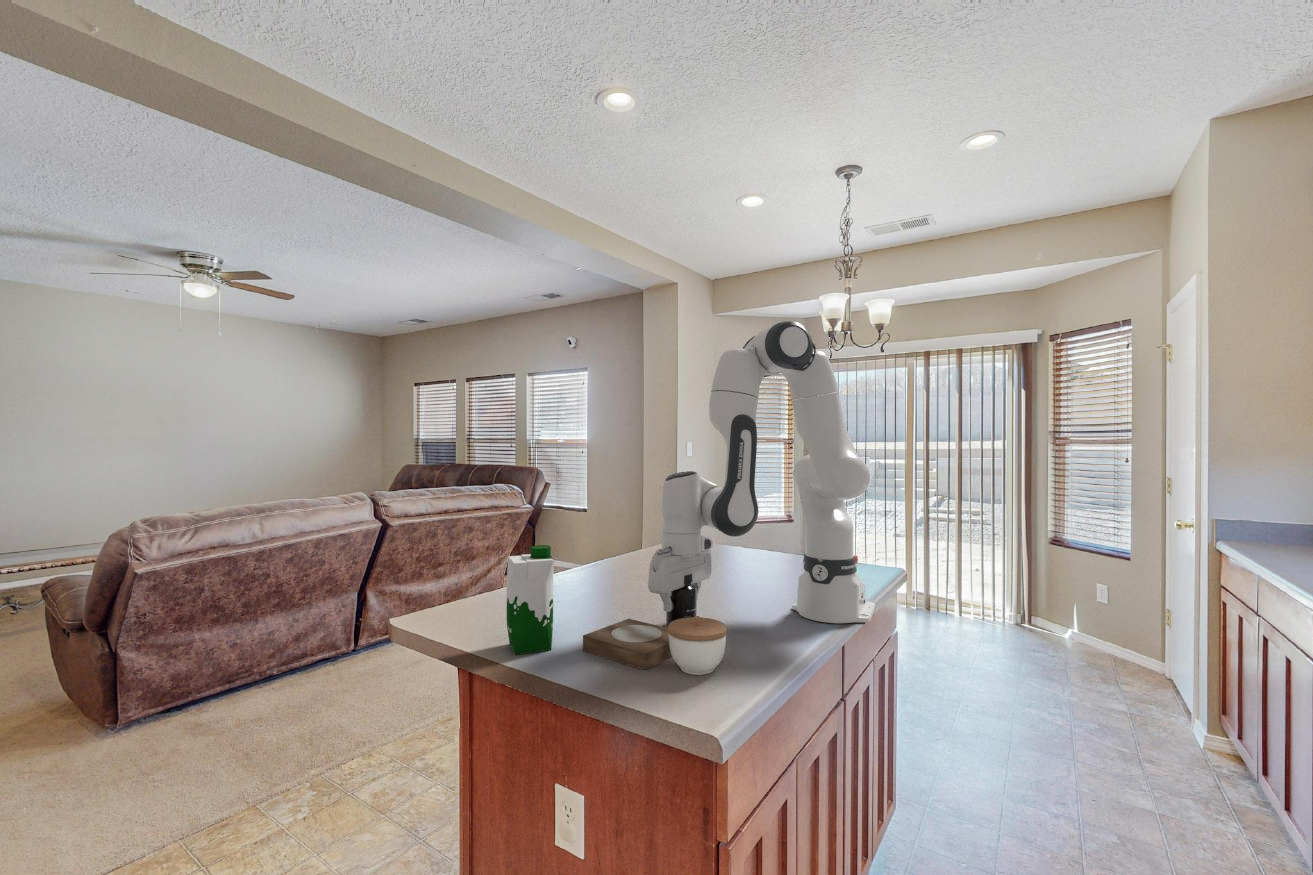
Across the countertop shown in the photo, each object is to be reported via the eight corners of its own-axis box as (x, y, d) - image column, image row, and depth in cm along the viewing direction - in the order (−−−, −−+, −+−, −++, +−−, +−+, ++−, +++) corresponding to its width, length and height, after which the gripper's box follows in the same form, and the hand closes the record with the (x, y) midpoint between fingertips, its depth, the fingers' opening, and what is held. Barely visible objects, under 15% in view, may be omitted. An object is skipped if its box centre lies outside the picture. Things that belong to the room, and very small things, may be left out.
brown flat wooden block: (628, 632, 123) (628, 617, 123) (689, 648, 114) (689, 631, 114) (582, 650, 112) (582, 633, 112) (646, 670, 103) (646, 651, 103)
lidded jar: (725, 682, 97) (725, 627, 97) (663, 678, 99) (663, 624, 99) (728, 659, 108) (728, 609, 108) (672, 655, 110) (672, 607, 110)
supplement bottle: (694, 633, 123) (694, 577, 123) (663, 631, 124) (663, 576, 125) (698, 623, 130) (698, 570, 130) (669, 621, 131) (669, 569, 131)
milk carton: (557, 651, 112) (557, 549, 112) (510, 657, 109) (510, 552, 109) (547, 637, 120) (547, 542, 121) (503, 643, 117) (504, 545, 117)
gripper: (664, 552, 117) (664, 619, 117) (716, 539, 133) (716, 598, 133) (641, 549, 121) (641, 614, 121) (694, 537, 137) (694, 594, 137)
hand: (681, 605), depth 127 cm, fingers open, 8 cm apart
